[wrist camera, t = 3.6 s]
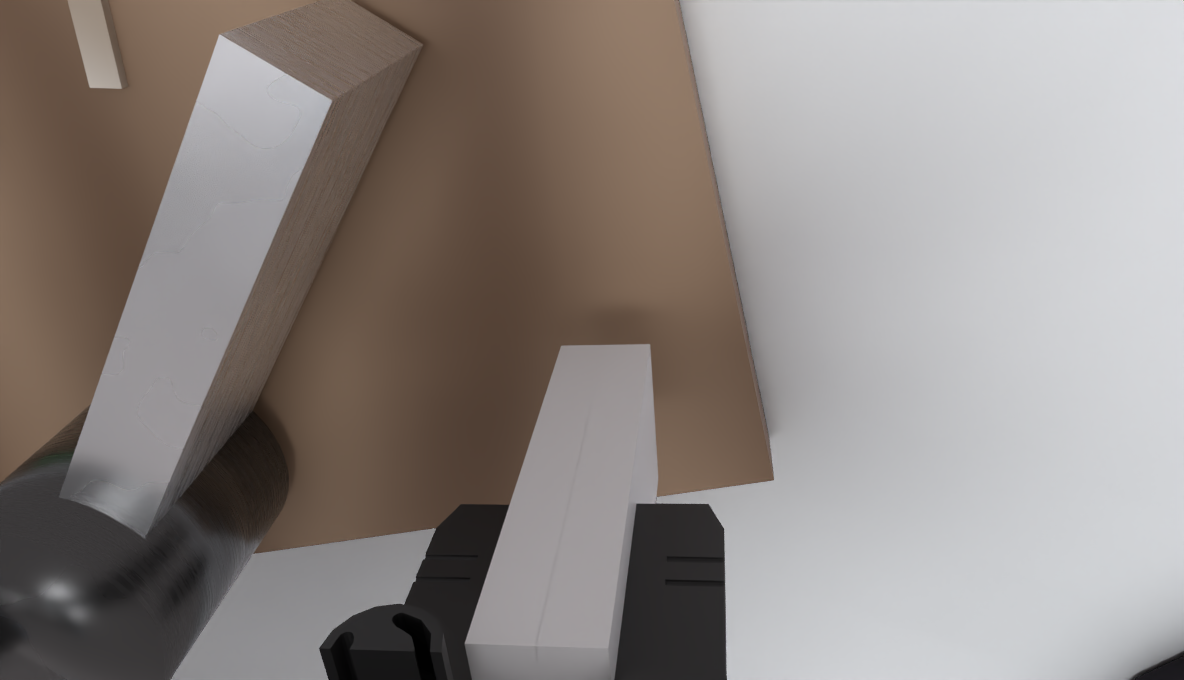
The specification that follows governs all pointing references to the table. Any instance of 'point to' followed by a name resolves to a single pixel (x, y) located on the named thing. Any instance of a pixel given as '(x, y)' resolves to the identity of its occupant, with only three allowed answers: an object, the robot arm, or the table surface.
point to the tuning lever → (196, 359)
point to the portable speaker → (1166, 671)
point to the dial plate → (397, 246)
